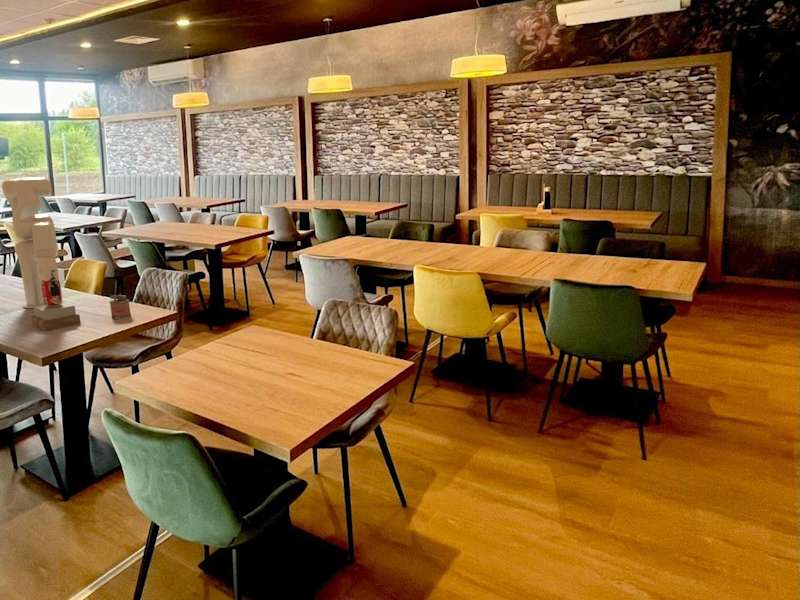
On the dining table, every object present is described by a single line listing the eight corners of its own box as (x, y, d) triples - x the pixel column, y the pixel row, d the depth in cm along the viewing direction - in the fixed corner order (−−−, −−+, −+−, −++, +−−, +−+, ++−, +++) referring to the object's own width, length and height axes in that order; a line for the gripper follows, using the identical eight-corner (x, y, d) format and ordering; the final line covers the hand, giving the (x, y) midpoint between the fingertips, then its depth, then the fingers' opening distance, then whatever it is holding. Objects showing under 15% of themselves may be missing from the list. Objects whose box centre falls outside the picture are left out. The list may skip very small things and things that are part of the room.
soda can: (66, 303, 273) (62, 276, 270) (56, 308, 266) (52, 280, 263) (51, 303, 273) (47, 276, 270) (40, 307, 266) (36, 279, 263)
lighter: (131, 315, 284) (129, 293, 281) (130, 317, 280) (127, 295, 278) (112, 316, 282) (109, 294, 279) (111, 318, 279) (108, 296, 276)
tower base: (32, 325, 271) (31, 316, 270) (66, 317, 281) (65, 309, 280) (46, 331, 262) (44, 321, 261) (80, 323, 272) (79, 314, 271)
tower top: (34, 315, 270) (33, 306, 269) (64, 310, 279) (62, 301, 278) (46, 320, 262) (44, 311, 261) (75, 314, 271) (74, 305, 270)
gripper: (27, 252, 267) (34, 293, 271) (44, 256, 256) (51, 299, 260) (46, 249, 272) (53, 289, 277) (63, 254, 261) (70, 295, 265)
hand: (52, 294), depth 268 cm, fingers closed on soda can, 7 cm apart
